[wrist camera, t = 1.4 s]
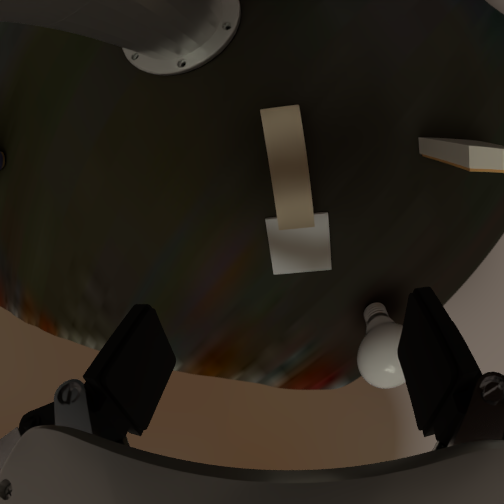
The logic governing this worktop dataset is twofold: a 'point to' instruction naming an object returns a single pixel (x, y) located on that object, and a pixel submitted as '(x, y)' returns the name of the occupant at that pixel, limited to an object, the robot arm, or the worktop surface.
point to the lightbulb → (380, 349)
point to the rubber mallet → (2, 160)
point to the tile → (464, 153)
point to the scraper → (293, 198)
